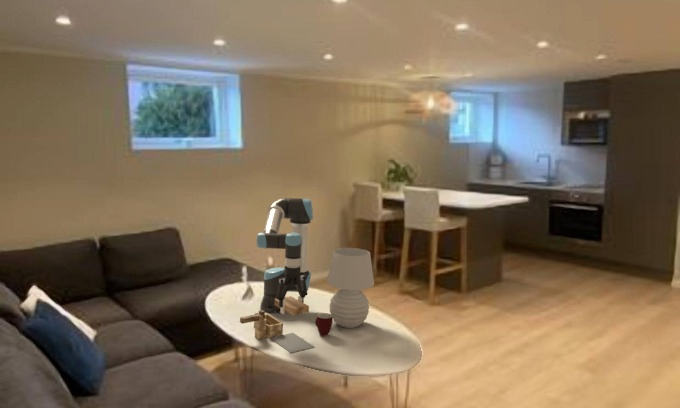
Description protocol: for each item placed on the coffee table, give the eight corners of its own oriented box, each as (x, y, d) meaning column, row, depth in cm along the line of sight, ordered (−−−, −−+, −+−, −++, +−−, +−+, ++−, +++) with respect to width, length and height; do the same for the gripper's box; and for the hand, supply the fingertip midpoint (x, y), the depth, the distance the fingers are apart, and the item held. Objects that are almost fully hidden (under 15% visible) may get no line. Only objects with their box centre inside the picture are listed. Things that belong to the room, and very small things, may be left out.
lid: (290, 301, 256) (290, 296, 256) (308, 312, 243) (308, 306, 242) (274, 304, 251) (274, 298, 250) (292, 315, 237) (292, 309, 237)
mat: (293, 333, 262) (293, 332, 261) (314, 347, 246) (314, 346, 245) (270, 338, 254) (270, 337, 254) (290, 353, 238) (290, 352, 238)
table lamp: (378, 321, 284) (382, 250, 278) (361, 336, 261) (365, 260, 255) (337, 313, 294) (340, 244, 289) (316, 327, 271) (319, 253, 266)
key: (262, 317, 255) (262, 310, 255) (264, 319, 253) (264, 311, 253) (240, 322, 248) (240, 314, 248) (242, 323, 246) (242, 315, 246)
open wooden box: (267, 324, 272) (268, 302, 270) (282, 334, 259) (283, 312, 257) (244, 329, 264) (245, 306, 263) (259, 340, 251) (259, 316, 250)
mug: (309, 333, 263) (309, 314, 261) (319, 329, 269) (320, 310, 267) (324, 339, 256) (325, 319, 255) (335, 334, 262) (335, 315, 261)
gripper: (307, 261, 253) (306, 305, 256) (268, 266, 241) (267, 313, 244) (316, 265, 247) (314, 310, 250) (276, 270, 235) (275, 317, 238)
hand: (291, 311), depth 247 cm, fingers closed on lid, 9 cm apart
